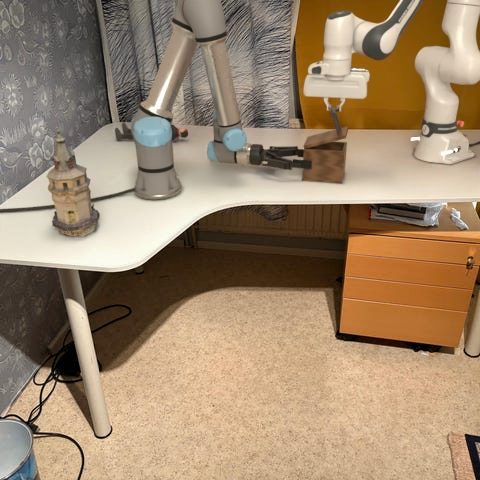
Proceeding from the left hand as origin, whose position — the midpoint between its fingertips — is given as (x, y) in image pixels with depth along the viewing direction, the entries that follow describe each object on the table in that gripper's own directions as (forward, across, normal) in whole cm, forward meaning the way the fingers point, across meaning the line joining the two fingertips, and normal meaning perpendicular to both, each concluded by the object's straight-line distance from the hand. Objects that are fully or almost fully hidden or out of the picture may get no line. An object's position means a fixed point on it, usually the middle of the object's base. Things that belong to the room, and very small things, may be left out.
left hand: (313, 159), depth 185 cm
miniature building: (-61, +55, -6) cm, 82 cm away
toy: (-70, -24, -6) cm, 74 cm away
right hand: (+6, 0, +17) cm, 18 cm away
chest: (+4, 0, -6) cm, 7 cm away
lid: (+4, 0, +8) cm, 9 cm away
